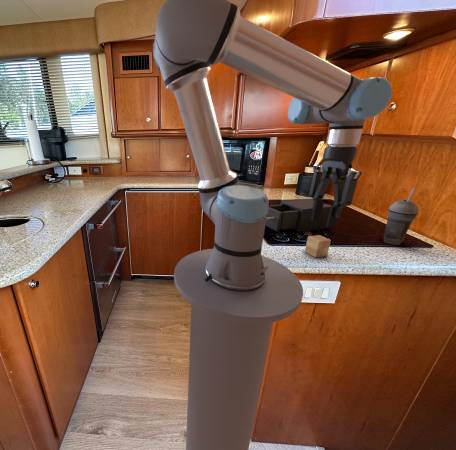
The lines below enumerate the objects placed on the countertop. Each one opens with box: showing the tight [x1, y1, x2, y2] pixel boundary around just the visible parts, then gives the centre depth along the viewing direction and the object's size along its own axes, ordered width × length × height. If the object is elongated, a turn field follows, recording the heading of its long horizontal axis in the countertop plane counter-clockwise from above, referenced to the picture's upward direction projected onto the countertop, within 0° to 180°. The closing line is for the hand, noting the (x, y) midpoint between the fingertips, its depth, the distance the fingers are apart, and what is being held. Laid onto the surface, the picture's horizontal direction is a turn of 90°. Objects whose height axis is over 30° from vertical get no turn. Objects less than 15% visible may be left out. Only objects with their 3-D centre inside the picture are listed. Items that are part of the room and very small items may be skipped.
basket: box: [265, 204, 301, 232], centre depth 99 cm, size 19×11×8 cm, turn 102°
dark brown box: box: [279, 198, 332, 233], centre depth 102 cm, size 15×13×10 cm
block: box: [304, 234, 332, 258], centre depth 78 cm, size 4×4×6 cm
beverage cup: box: [382, 187, 419, 246], centre depth 82 cm, size 7×7×20 cm
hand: (322, 223), depth 75 cm, fingers open, 5 cm apart
